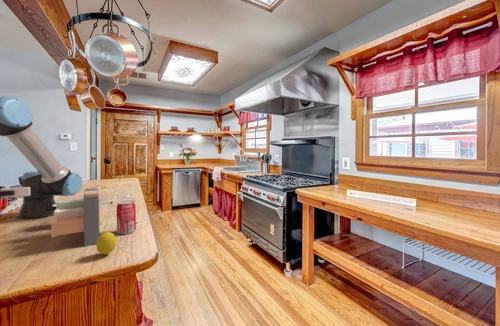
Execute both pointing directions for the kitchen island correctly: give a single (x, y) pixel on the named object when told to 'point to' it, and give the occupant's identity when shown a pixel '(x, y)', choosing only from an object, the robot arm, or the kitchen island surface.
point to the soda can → (126, 217)
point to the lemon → (106, 243)
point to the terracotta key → (67, 226)
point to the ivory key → (68, 213)
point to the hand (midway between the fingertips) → (29, 191)
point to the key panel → (91, 216)
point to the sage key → (70, 204)
